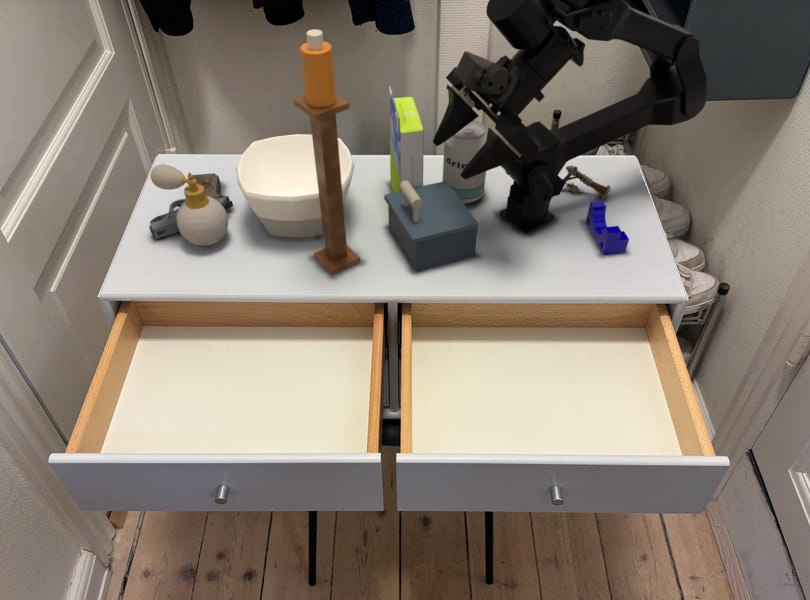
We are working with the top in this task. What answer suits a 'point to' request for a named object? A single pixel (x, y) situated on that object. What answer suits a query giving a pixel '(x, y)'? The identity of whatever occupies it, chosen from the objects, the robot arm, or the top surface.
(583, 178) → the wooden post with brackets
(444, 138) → the robot arm
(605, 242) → the cable holder
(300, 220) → the bowl
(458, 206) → the lid
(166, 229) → the handgun
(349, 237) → the top surface
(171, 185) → the perfume bottle
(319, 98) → the detergent bottle
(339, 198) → the stand
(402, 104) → the box
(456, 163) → the beverage can
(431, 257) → the compartment
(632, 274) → the top surface
